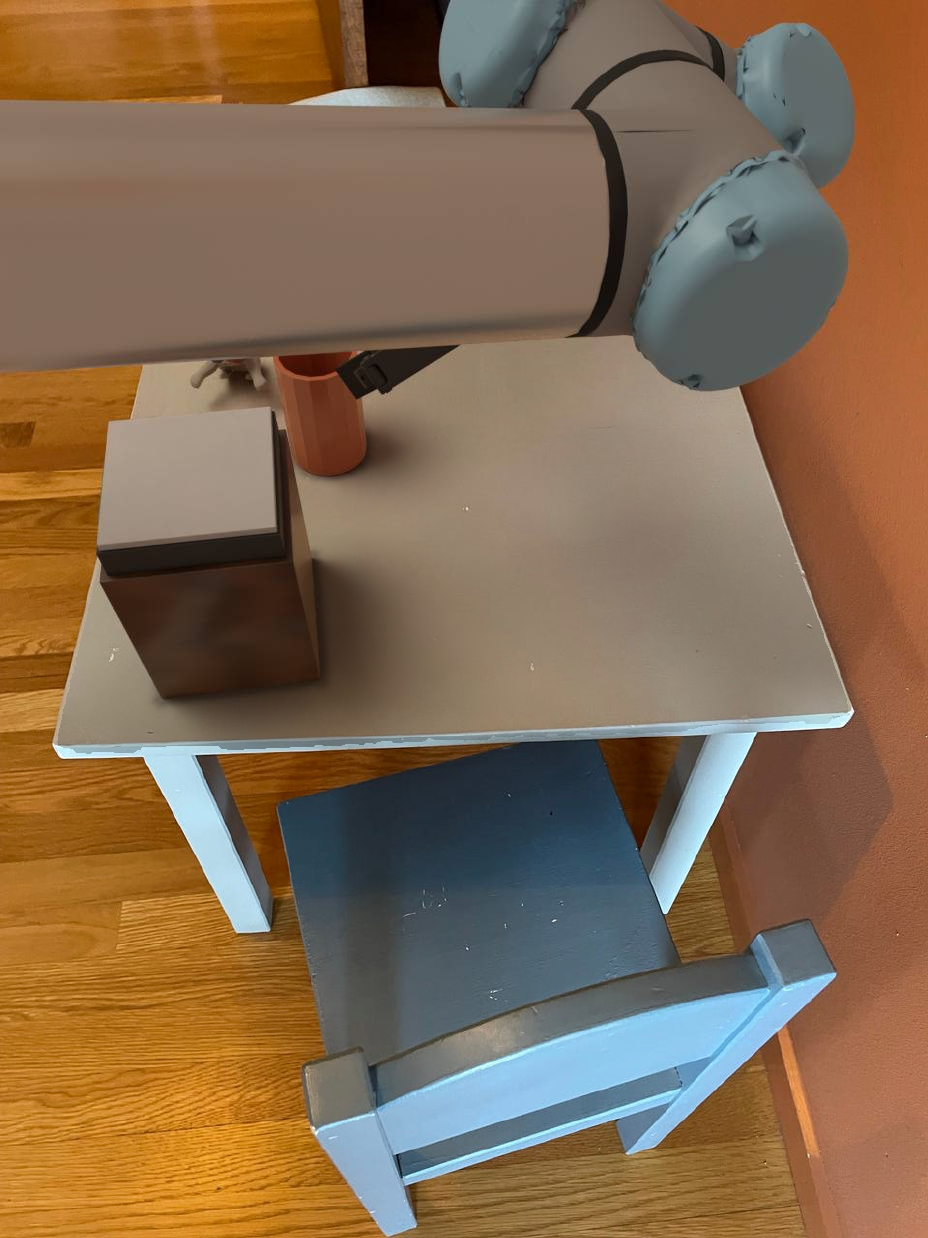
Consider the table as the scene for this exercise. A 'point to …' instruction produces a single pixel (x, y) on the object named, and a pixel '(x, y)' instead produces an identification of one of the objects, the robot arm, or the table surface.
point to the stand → (226, 614)
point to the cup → (321, 413)
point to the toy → (228, 367)
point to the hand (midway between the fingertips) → (404, 335)
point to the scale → (191, 491)
